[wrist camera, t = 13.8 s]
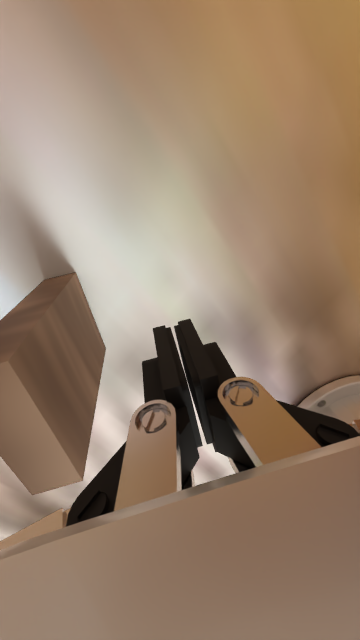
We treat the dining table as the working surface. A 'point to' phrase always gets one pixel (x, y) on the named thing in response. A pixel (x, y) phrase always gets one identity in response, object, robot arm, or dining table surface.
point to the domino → (49, 384)
